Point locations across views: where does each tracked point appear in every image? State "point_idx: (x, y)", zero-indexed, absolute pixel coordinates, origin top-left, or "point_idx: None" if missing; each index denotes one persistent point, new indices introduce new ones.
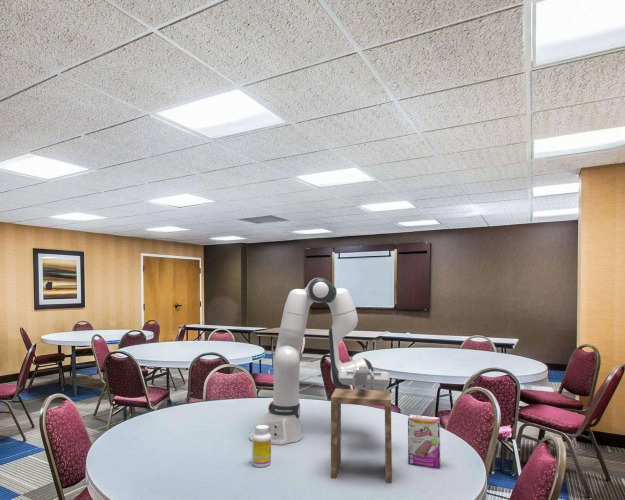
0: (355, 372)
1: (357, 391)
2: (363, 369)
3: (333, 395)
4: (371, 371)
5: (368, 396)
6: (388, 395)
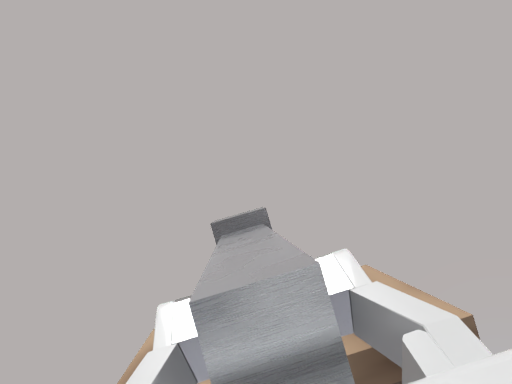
0: (261, 207)
1: None
2: (240, 248)
3: (371, 271)
4: (148, 365)
5: None
6: (139, 362)
